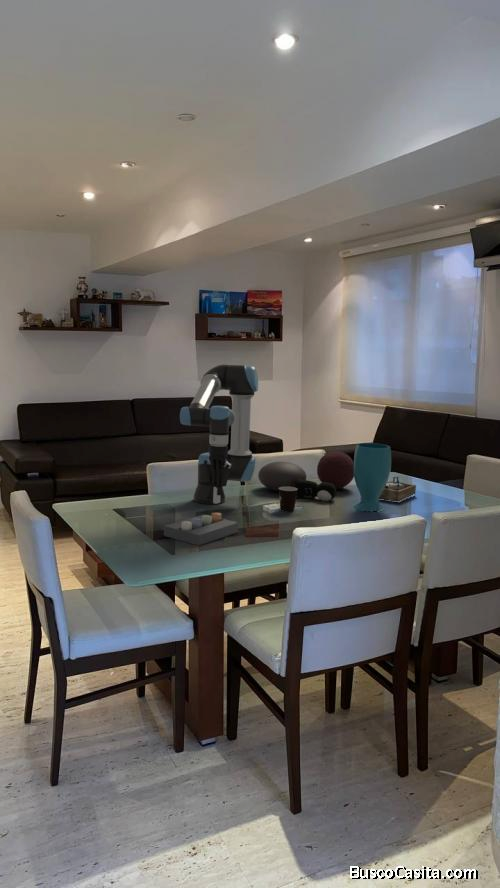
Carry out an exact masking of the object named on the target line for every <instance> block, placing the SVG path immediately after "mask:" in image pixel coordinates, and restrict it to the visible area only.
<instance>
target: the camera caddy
mask: <svg viewBox="0 0 500 888" xmlns="http://www.w3.org/2000/svg"><path fill="white" fill-rule="evenodd" d="M392 482H393V480H388V482H387V483H392ZM403 483H404V485H405V488H404V489H402V490H399V491H396V490H390V489H384V490H383V492H382V494H381V495H380V497H379V499H384V500H391V501H400V500H402V499H404V498H406V497H409V496H411V495H413V494H415V495H416V492H417V491H416V490H417V485H416V484H413V483H412V484H411V483H405V482H403Z"/></svg>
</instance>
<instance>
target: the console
mask: <svg viewBox="0 0 500 888" xmlns="http://www.w3.org/2000/svg"><path fill="white" fill-rule="evenodd" d="M204 515H206V513H205V514H201V515H197V516H193V517H190V518H187V519H184V520H180V521H176V522H173V523H172V522H171V523H169V524H165V525H164V526H163V536H164V537H168V538H171V539H174V540H178V541H181V542H184V543H190V544H193V545H195V546H201V545H204V544H207V543H211V542H214V541H215V540H218V539H221V538H225V537H228V536H231V535H234V534H237V533H239V522H237V521H234V520H229V519H225V518H221V521H219V522H214V521H212V524H210V525H205V524H202V527H200V528H195V527H192V530H190V531H184V530H181V522H183V521H190V522H192V519H193V518H200V519H202V516H204Z"/></svg>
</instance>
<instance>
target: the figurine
mask: <svg viewBox="0 0 500 888" xmlns="http://www.w3.org/2000/svg"><path fill="white" fill-rule="evenodd" d="M295 488H297V489H298V490H297V496H296V498H299V499H302V498H303V499H315V498H316V497H317V498H318V499H319V500H320V501H323V502H329V501H332V500H334V499H335V497H336V494H337V489H336V488H335V486H334V485H333V484H331V483H327V482H320V483H319V484H318V483H317V482H316V481H312V480H309V479H308V480H307V479H306V480H302V479H298V480H297V482H296V484H295Z"/></svg>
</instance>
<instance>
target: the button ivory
mask: <svg viewBox="0 0 500 888" xmlns="http://www.w3.org/2000/svg"><path fill="white" fill-rule="evenodd" d="M182 521H183V520H182ZM181 530H184V531H190V530H192V522H190V521H183V522H181Z"/></svg>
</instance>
